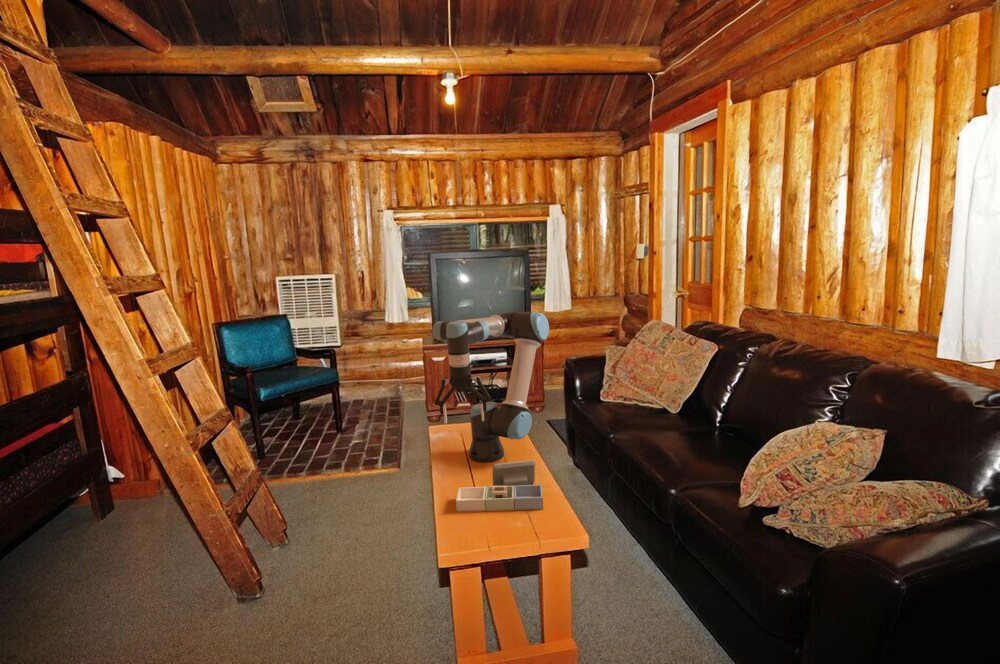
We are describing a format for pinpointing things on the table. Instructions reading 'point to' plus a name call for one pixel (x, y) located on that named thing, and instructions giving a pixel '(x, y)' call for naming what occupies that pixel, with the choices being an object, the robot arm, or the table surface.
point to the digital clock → (514, 473)
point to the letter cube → (499, 492)
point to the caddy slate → (528, 497)
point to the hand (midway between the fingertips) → (464, 421)
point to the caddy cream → (471, 499)
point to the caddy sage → (499, 500)
